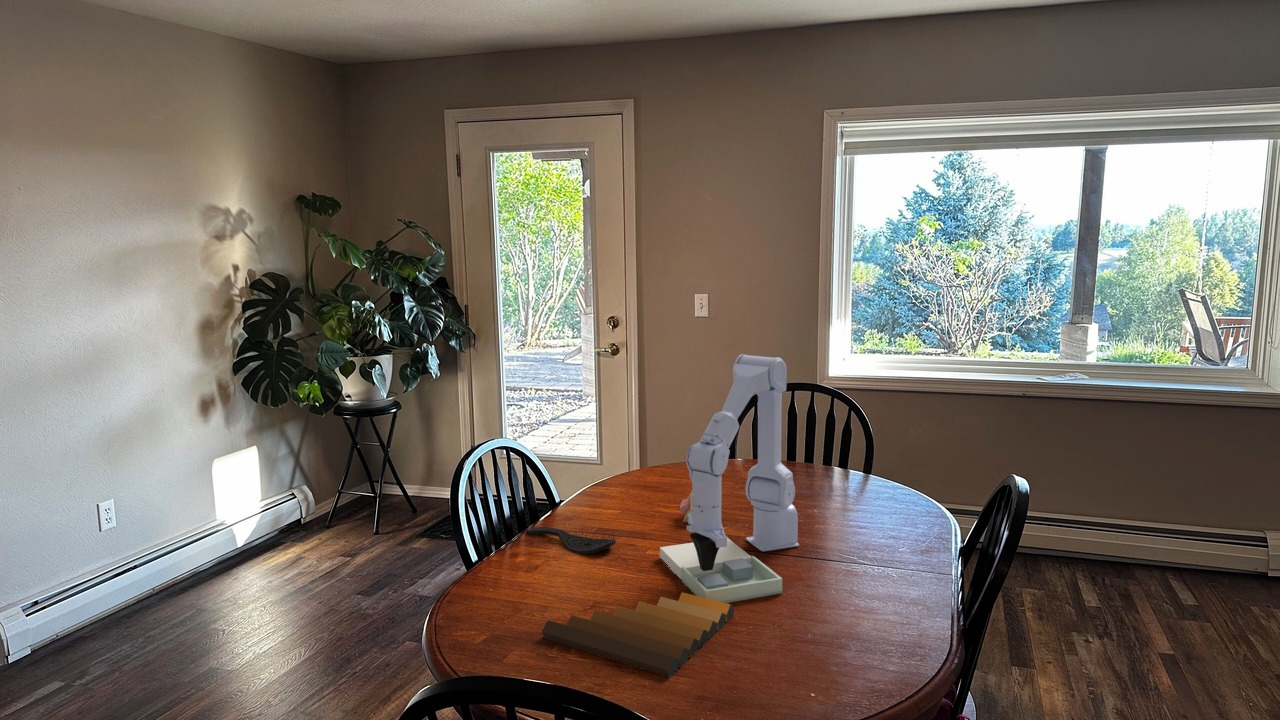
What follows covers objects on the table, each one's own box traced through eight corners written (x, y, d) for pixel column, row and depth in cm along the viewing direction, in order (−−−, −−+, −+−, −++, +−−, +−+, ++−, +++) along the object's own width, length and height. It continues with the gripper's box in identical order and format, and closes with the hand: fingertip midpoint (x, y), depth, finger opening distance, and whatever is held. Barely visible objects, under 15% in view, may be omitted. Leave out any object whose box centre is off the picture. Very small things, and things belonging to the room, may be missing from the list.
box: (753, 569, 167) (753, 555, 166) (782, 593, 156) (782, 578, 155) (681, 581, 161) (681, 567, 161) (705, 606, 150) (705, 591, 150)
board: (727, 548, 178) (727, 537, 178) (752, 568, 167) (752, 557, 167) (659, 558, 173) (659, 547, 173) (681, 580, 162) (681, 568, 161)
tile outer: (727, 583, 153) (727, 595, 154) (718, 573, 158) (718, 585, 158) (706, 586, 152) (706, 598, 152) (697, 576, 156) (697, 588, 157)
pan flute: (541, 642, 139) (668, 682, 126) (541, 624, 138) (668, 662, 125) (619, 588, 160) (734, 618, 147) (619, 572, 159) (734, 600, 146)
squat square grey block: (742, 569, 165) (742, 558, 165) (752, 578, 161) (753, 566, 161) (722, 573, 164) (722, 561, 163) (732, 581, 160) (733, 569, 159)
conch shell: (722, 516, 200) (727, 499, 192) (695, 542, 196) (699, 526, 188) (695, 492, 203) (699, 474, 196) (668, 517, 199) (671, 500, 191)
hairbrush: (539, 516, 193) (623, 531, 179) (540, 530, 193) (624, 547, 179) (515, 526, 186) (601, 543, 172) (516, 541, 187) (602, 560, 172)
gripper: (674, 494, 163) (674, 558, 165) (703, 518, 149) (702, 587, 151) (705, 490, 165) (705, 553, 167) (737, 513, 151) (736, 581, 153)
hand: (706, 569), depth 159 cm, fingers closed
